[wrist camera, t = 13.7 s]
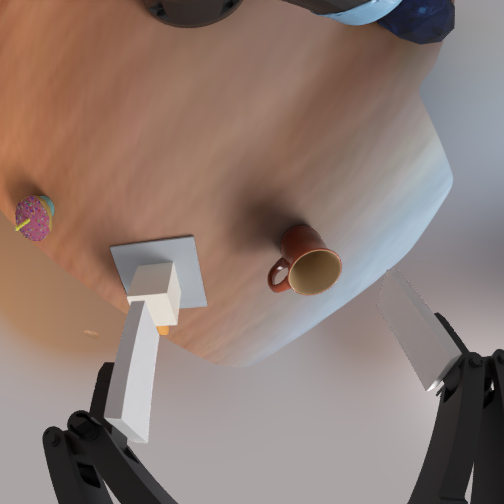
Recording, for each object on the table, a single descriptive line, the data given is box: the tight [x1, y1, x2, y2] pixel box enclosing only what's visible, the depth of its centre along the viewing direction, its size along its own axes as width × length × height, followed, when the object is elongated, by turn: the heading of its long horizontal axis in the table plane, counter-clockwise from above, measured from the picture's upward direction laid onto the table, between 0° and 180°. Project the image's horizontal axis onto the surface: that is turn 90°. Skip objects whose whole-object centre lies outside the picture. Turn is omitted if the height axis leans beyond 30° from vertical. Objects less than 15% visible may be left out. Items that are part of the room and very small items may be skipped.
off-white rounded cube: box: [126, 262, 181, 335], centre depth 47 cm, size 10×7×9 cm, turn 3°
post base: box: [110, 236, 207, 309], centre depth 48 cm, size 16×16×6 cm
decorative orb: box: [377, 0, 455, 44], centre depth 22 cm, size 14×15×15 cm
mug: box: [268, 225, 342, 295], centre depth 46 cm, size 12×9×10 cm
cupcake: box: [14, 195, 54, 241], centre depth 34 cm, size 9×8×12 cm
